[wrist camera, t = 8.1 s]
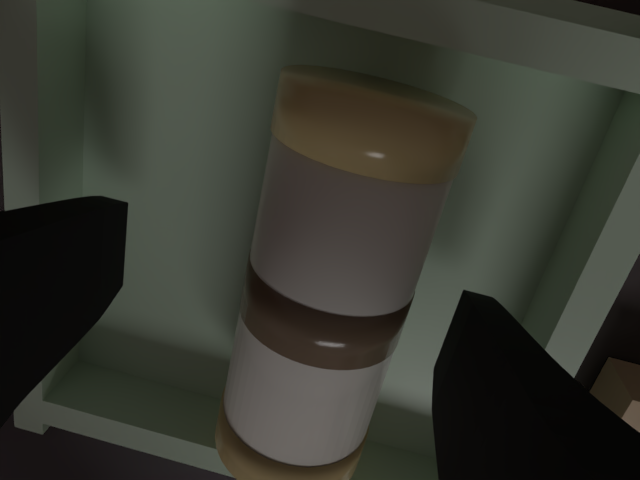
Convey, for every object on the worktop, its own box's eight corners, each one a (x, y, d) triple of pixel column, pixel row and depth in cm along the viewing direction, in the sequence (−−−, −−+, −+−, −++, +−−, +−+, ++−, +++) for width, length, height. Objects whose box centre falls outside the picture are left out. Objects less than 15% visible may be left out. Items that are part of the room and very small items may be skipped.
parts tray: (470, 487, 16) (479, 558, 14) (61, 374, 16) (14, 427, 14) (687, 28, 10) (753, 35, 8) (65, -116, 11) (-12, -142, 9)
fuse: (330, 383, 15) (382, 490, 12) (204, 392, 14) (229, 513, 11) (417, 82, 12) (519, 135, 9) (259, 54, 10) (318, 105, 7)
